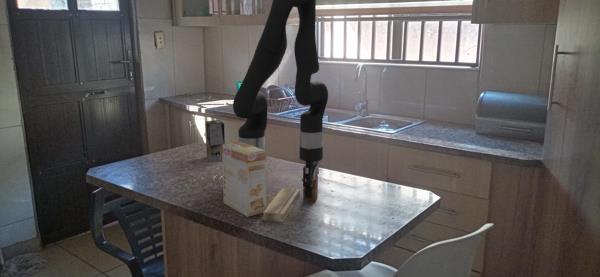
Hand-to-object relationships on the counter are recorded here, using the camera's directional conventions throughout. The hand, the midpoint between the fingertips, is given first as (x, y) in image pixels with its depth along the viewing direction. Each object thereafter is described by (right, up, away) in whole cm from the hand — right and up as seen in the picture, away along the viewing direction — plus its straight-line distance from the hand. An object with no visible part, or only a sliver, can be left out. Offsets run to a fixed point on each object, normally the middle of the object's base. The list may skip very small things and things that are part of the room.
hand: (310, 193), depth 156 cm
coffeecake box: (-21, -4, -7) cm, 22 cm away
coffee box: (-39, +9, +49) cm, 63 cm away
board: (-9, -4, -7) cm, 12 cm away
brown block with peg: (0, -2, +1) cm, 2 cm away
